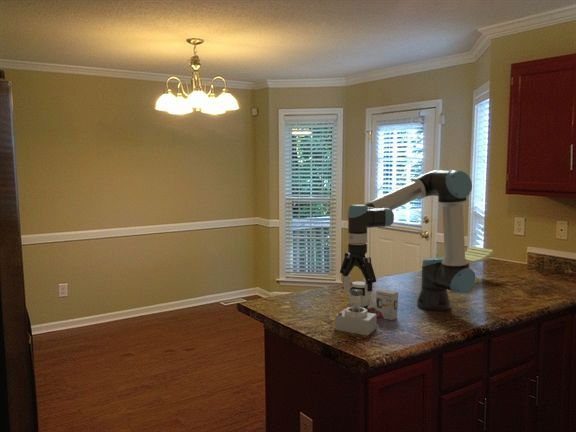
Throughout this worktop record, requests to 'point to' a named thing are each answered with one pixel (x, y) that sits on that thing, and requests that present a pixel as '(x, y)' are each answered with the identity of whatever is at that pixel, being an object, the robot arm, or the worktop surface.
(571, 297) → the worktop surface
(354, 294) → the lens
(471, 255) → the slatted curved stool
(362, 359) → the worktop surface
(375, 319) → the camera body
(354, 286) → the spread jar
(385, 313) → the ink box
